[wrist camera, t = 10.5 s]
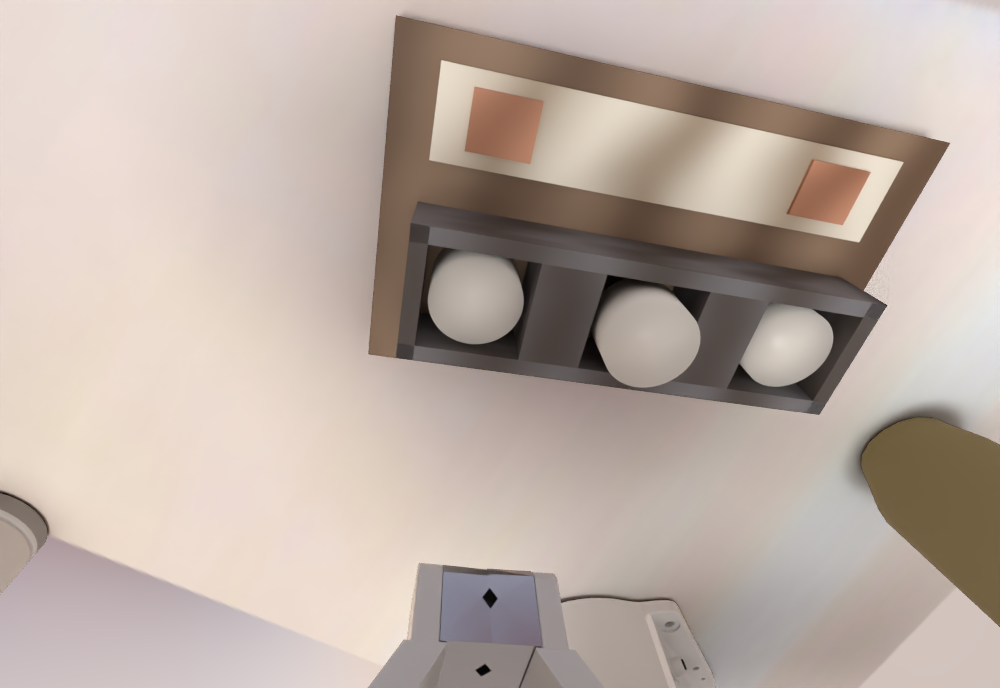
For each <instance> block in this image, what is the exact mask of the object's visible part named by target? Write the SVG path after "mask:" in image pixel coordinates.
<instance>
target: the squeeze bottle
mask: <svg viewBox="0 0 1000 688" xmlns="http://www.w3.org/2000/svg"><path fill="white" fill-rule="evenodd" d="M861 468H862V470H863V473H864V475H865V478H866V480H867V483H868V485H869V487H870V490H871V492H872V495H873V497H874V500H875V502H876V504H877V507H878V509H879V511H880V513H881V514H882V516H883V517H884V519H885V520H886V522H887V523H888V524H889V525H890V526H892V527H893V528H894V529H895V530H896V531H897V532H898V533H899V534H900V535H901V536H902V537H903V538H905V539H906V540H907V541H908V542H909V543H910V544H911V545H912V546H913V547H914V548H915V549H916V550H917V551H919V552H920V553H921V554H922V555H923V556H924V557H925V558H926V559H927V560H928V561H929V562H930V563H931V564H933V565H934V566H935V567H936V568H937V569H938V570H939V571H940V572H941V573H942V574H943V575H944V576H946V577H947V578H948V579H949V580H950V581H951V582H952V583H953V584H954V585H955V586H956V587H957V588H958V589H960V590H961V591H962V592H963V593H964V594H965V595H966V596H967V597H968V598H969V599H970V600H971V601H972V602H974V603H975V604H976V605H977V606H978V607H979V608H980V609H981V610H982V611H983V612H984V613H986V614H987V615H988V616H989V617H990V618H991V619H992V620H993V621H994V622H995V623H996V624H997V625H998V626H999V627H1000V445H999V444H997V443H995V442H993V441H991V440H989V439H987V438H984V437H982V436H979V435H976V434H974V433H971V432H968V431H966V430H963V429H960V428H958V427H955V426H952V425H950V424H947V423H944V422H942V421H939V420H936V419H933V418H923V417H915V418H911V419H907V420H904V421H900V422H897V423H895V424H894V425H892V426H890V427H888V428H886V429H884V430H883V431H881V432H880V433H879V434H878V435H877V436H876V437H875V438H874V439H872V440H871V441H870V442H869V443H868V445H867V447H866V449H865V450H864V452H863V454H862V459H861Z"/></svg>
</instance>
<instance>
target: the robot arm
mask: <svg viewBox="0 0 1000 688" xmlns="http://www.w3.org/2000/svg"><path fill="white" fill-rule="evenodd" d="M368 688H716V684H715V680H714V677H713V674H712V672H711V670H710V668H709V666H708V664H707V662H706V660H705V658H704V656H703V654H702V652H701V650H700V648H699V646H698V644H697V643H696V641H695V639H694V637H693V635H692V633H691V631H690V629H689V627H688V625H687V623H686V621H685V619H684V617H683V615H682V613H681V611H680V609H679V607H678V606H677V604H676V603H675V602H673V601H670V600H656V601H646V602H631V601H625V600H619V599H611V598H586V599H577V600H572V601H567V602H563V603H561V599H560V593H559V587H558V581H557V578H556V576H555V574H551V573H534V572H531V571H516V570H500V569H487V570H486V569H477V568H467V567H457V566H447V565H443V566H442V565H438V564H426V563H419V564H418V569H417V575H416V580H415V586H414V592H413V598H412V605H411V611H410V618H409V627H408V636H407V640H403V641H402V643H401V644H400V645H399V647H398V648H397V649H396V651H395V652H394V654H393V655H392V656H391V658H390V659H389V660H388V662H387V663H386V664H385V666H384V667H383V668H382V670H381V671H380V672H379V674H378V675H377V676H376V678H375V679H374V680H373V682H372V683H371V684H370V686H369V687H368Z"/></svg>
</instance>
